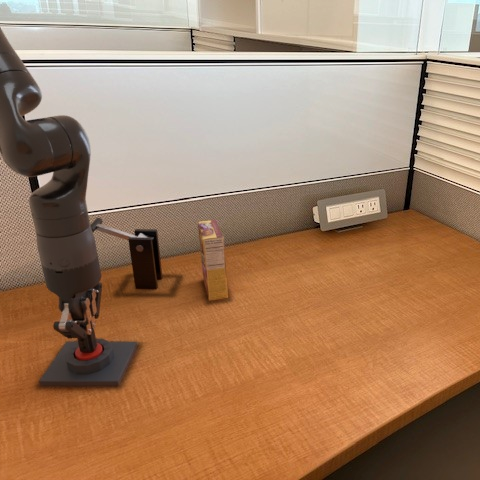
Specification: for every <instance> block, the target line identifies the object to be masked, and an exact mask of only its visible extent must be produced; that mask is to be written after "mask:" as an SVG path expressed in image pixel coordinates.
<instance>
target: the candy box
mask: <svg viewBox="0 0 480 480" xmlns="http://www.w3.org/2000/svg"><path fill="white" fill-rule="evenodd" d="M197 230H198V238H199V249H200V258H201V268H202V278H203V285H204V288H205V291H206V295H207V299H208V302H210V301H216V300H223V299H228V298H229V293H228V290H229V289H228V279H227V278H228V277H227V261H226V252H225V251H226V250H225V249H226V248H225V236H224V234H223V233H222V231H221V228H220V226H219V223H218V220H217V219H211V220H210V219H209V220H202V221H197Z"/></svg>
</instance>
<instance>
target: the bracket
mask: <svg viewBox="0 0 480 480" xmlns="http://www.w3.org/2000/svg"><path fill="white" fill-rule="evenodd" d="M133 232H134V235H135V236H138V235H139V234H140V233H142V234H145V235H148V236H151V237H153V241H152V238H144V237H130V238H129V239H128V240H127V242H128V247H129V253H130V254H129V255H130V261H131V268H132V269H131V270H132V275H133V281H134V288H135V290H157V289H158V288H159V287H158V286H159V285H158V281H159V280H160V281H161V280H163V268H162V260H161V259H162V258H161V251H160V243H159V234H158V228H157V229H155V228H154V229H153V228H135V229H134V231H133Z"/></svg>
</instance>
